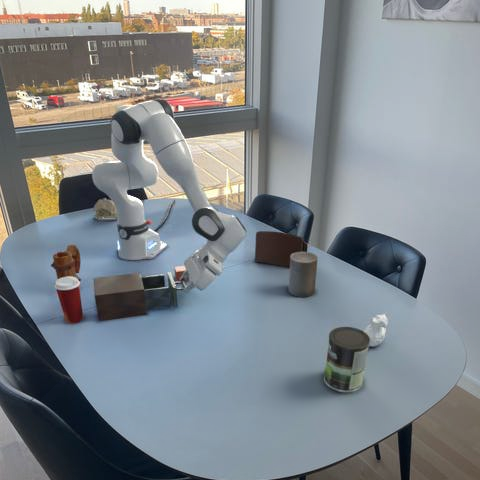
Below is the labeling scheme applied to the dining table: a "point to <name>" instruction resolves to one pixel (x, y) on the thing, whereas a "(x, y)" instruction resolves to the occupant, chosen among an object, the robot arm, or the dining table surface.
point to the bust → (377, 330)
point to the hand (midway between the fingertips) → (182, 286)
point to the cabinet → (119, 296)
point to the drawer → (160, 291)
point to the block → (180, 273)
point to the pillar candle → (302, 274)
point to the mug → (67, 262)
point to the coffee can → (346, 359)
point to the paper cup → (70, 298)
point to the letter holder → (277, 247)
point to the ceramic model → (105, 210)
